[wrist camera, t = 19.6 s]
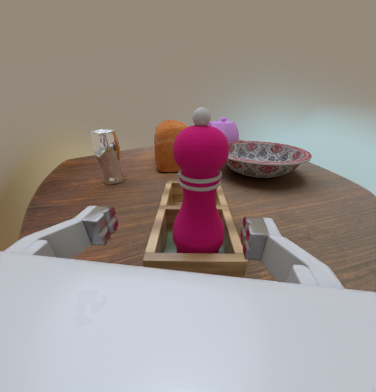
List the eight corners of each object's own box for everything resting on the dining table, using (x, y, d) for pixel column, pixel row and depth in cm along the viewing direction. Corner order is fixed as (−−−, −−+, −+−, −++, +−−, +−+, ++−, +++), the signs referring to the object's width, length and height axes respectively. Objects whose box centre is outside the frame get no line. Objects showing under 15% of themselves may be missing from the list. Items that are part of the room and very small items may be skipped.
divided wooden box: (240, 293, 22) (247, 261, 19) (148, 292, 22) (142, 260, 19) (217, 203, 42) (218, 180, 39) (168, 202, 42) (167, 180, 39)
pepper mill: (230, 268, 24) (257, 107, 14) (180, 282, 22) (172, 109, 12) (210, 235, 30) (219, 106, 20) (169, 243, 28) (159, 107, 18)
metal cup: (121, 185, 51) (110, 132, 44) (98, 185, 51) (83, 133, 44) (128, 176, 57) (119, 129, 50) (108, 176, 57) (96, 129, 50)
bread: (156, 173, 59) (151, 125, 52) (157, 154, 82) (153, 118, 74) (195, 171, 61) (195, 124, 53) (185, 153, 84) (184, 118, 76)
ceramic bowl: (204, 162, 70) (205, 142, 66) (269, 158, 74) (274, 139, 70) (230, 195, 45) (234, 166, 41) (327, 187, 49) (338, 160, 45)
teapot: (191, 146, 96) (192, 117, 88) (215, 142, 107) (217, 115, 100) (218, 153, 82) (221, 119, 75) (242, 147, 94) (246, 117, 86)
